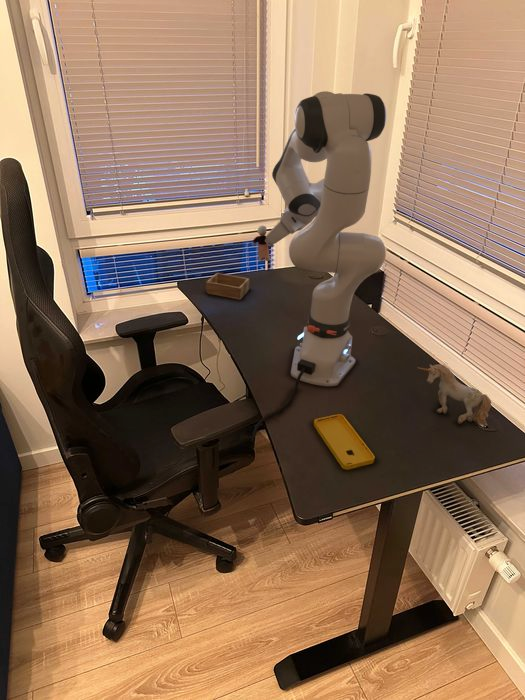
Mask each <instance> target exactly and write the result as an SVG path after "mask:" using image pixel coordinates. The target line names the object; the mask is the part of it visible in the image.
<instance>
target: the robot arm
mask: <svg viewBox="0 0 525 700" xmlns="http://www.w3.org/2000/svg"><path fill="white" fill-rule="evenodd" d="M386 123H387V108H386V105H385V102H384V101H383V99H382V98H381V97H380V96H379V95H377V94H374V93H362V94H361V93H360V94H359V93H341V92H340V93H334V92H331V91H327V90H326V91H325V90H324V91H319V92H317V93H315V94H314V95H312V96H309V97H306V98H303V99H302V100H300V101H299V103H298V104H297V106H296V108H295V112H294V129H293V130H292V131H291V133H290V135H289V137H288V140H287V142H286V144H285V147H284V149H283V152H282V154H281V156H280V158H279V160H278V161H277V162H276V164H275V165H274V167H273V170H272V173H271V176H272V177H271V178H272V179H273V181H274V183H275V185H276V186H277V187H278V190H279V192H280V194H281V195H280V196H281V197H282V199H283V201H284V203H285V206H286V208H285V209H284V210H283V213H282V215H281V217H280V218H279V221H278V222H277V223H276V225H274V226H273V227H272V229H271V230H270V231H269V232H268V233H266V235H265V236H266V239H265V242H266V243H267V244H268V245H270V244H272V245H275V244H277V243H278V242H280V241H282V240H283V239H285V238H286V237H288V236H289V235H293V234H294V233H296V232H297V233H296V234H295V235H294V236H293V237H292V239H291V240H290V243H289V246H288V255H289V259H290V262H291V263H292V265H293V266H294V267H295V268H296V269H297V268H298V269H301V270H304V271H308V272H313V273H329V274H330V273H331V274H332V273H333V274H334V275H333V276H331V277H330V278H328V279H326V280H324V281H321V282H320V283H318V284H317V285H316V286H315V287H314V289H313V291H312V295H311V304H310V312H309V313H308V317H307V324H306V326H304V327H303V332H302V333H301V334H299V335H298V336H297V340H300V339H301V338H302V342H300V343H299V344H298V345H297V346H295V348H294V352H293V358H292V362H291V369H290V376H291V377H292V378H294V379H296V380H295V384H294V388H293V390H292V392H291V394H290V396H289V398H288V399H287V400H286V401H285V403H284V404H283V405H282V406H280V407H279V408H278V409H275V410H274V411H272V412H270V413H268V414H266V415H265V416H264V417H262V418H261V419H260V420H259V421H258V422H257V423H256V424H255V426H254V428H253V431H252V434H251V438H250V442H251V443H253V442H255V439H256V436H257V432H258V429H259V427H260V426H261V425H262V423H264V422H265V421H266V420H268V419H269V418H271V417H273V416H275V415H277V414H279V413H281V412H282V411H283V410H284V409H285V408H287V407H288V405H290V403H291V402H292V401H293V398H294V397H295V395H296V393H297V390H298V387H299V383H300V381H301V382H304V383H307V384H310V385H314V386H315V385H316V386H320V387H336V386H338V385H339V384H340V383H341V382H342V380H343V379H344V378H345V377H346V375H347V374H348V373H349V372H350V371H351V369H352V368H353V367H354V365H355V364H356V358H354V357H353V356H352V346H353V345H352V344H353V335H352V334H351V333H350V332H349V329H350V323H351V321H350V320H351V318H350V311H351V306H352V302H353V297H354V295H355V292H356V290H357V289H358V288H359V286H360V285H361V284H362V283H363V282H364V281H365V280H366V279H367V278H368V277H370V276H371V275H373V274H376V273H377V272H378V271H379V270H380V269H381V268H382V266H383V265H384V263H385V260H386V255H387V254H386V253H387V250H386V246H385V243H384V241H383V240H382V239H381V237H379V236H376V235H372V234H368V233H365V232H350V231H343V230H345V229H347V228H349V227H352V226H354V225H356V224H357V223H358V222H359V221H361V219H362V218H363V217H364V215H365V212H366V209H367V203H368V195H369V190H370V183H371V176H372V148H371V145H370V144H369V141H373V140H375V139H377V138H379V137H380V136H381V134H382V133H383V131H384V129H385V126H386ZM302 160H303V161H305V162H309V163H320V162H323V161H325V160H326V166H325V171H324V178H322V179H321V180H319V181H317V182H310V179H309V178H308V176H307V173H306V171H305V169H304V166H303V164H302ZM269 243H270V244H269Z"/></svg>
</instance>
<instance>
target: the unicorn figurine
mask: <svg viewBox="0 0 525 700" xmlns="http://www.w3.org/2000/svg"><path fill="white" fill-rule="evenodd" d="M417 369H418V370H420V371H424V372H428V377H427V379H426V381H427V383H428V384H430V385H431V384H433V383H434V381H435V379H437V378H439V379H440V381H439V383H438V387H439V390H438V392H437V395H438V402H439V404H440V406H441V407H439V408H438V409H436V412H437V413H438V414H441V413H443V414H445V415H446V414H447V411H448V406H447V401H448V400H447V397H448V396H449V397H450V398H451V399H452V400H455V401H458V402H463V404H464V406H465V409H466V413H463V414H460V415H459V416H458V418H457V424H462V423H463V422H464V421H467V422H469V423H470V422H471V423H472V421H473V422H477V423H476V424H477V425H478V426H479V427H480V426H484V427H487V426H488V424H489V423H487V420H486V419H487V418H489V412H490V409H491V408H492V400H491V399H490V397H489V396H488V395H487V394H484V393H482V391H480V390H479V389H478V388H475V387H471V386H468V385H464V384H462V383H461V382H460V381H458V380H457V379H456V376H455V374H454V373H453V372H452V370H451V369H450V368H449V367H447V366H446V365H445V364H440V363H439V364H434V365H432V364H431V363H430V364H429V368H425V367H417ZM480 403H482V404H481V405H480ZM479 405H480V406H479ZM473 411H474V413H473Z"/></svg>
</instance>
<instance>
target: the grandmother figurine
mask: <svg viewBox="0 0 525 700" xmlns="http://www.w3.org/2000/svg"><path fill="white" fill-rule="evenodd" d="M256 231H257V234H258V235H257V236H256V237H254V238H253V240H252V243H251V246H253V247H254V246H255V245H256V244H257V243H258V244H257V252H258V253H257V254H258V261H259V262H262V261H265V262H269V261H270V260H271V259H272V257H271V256H270V248H269V246H270V247H271V248H274V245H275V244H273V245H272V244H270V243H269V244H267V243H266V242H265V239H266V236H267V231H268V229H267V226H265V225H260V226H258V228H257V230H256Z"/></svg>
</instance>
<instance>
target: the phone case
mask: <svg viewBox="0 0 525 700" xmlns="http://www.w3.org/2000/svg"><path fill="white" fill-rule="evenodd" d="M313 427H314V428H315V430H316V431H317V433H318V435H319V436H320V437H321V439H322V440H323V442H324V444H325V445H326V446H327V448H328V449H329V451H330V452H331V454H332V455H333V456H334V458H335V460H336V462H338V464H339V466H340V467H341V468H342V469H343V470H346V471H348V470H349V471H350V470H352V469H356V468H361V467H364V466H368V465H372V464H374V463H375V459H376V456H375V454H374V453H373V452H372V451H371V449H370V448H369V447H368V446H367V444H366V443H365V442H364V440H363V438H361V436H360V435H359V434H358V432H357V431H356V430H355V429H354V426H352V425H351V423H350V422H349V421H348V420H347V418H346V417H345V416H344V414H341V413H337V414H332V415H328V416H323V417H317V418H315V419H314V420H313ZM348 451H352V454H348Z"/></svg>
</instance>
